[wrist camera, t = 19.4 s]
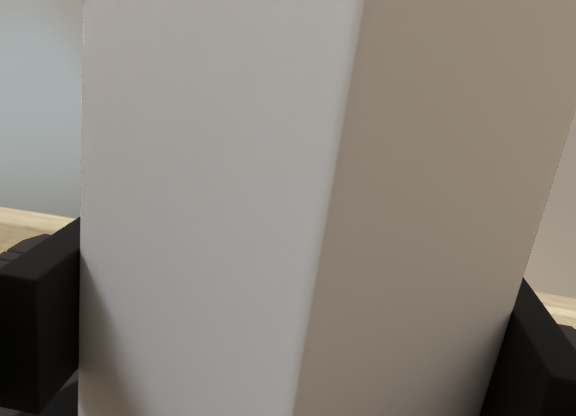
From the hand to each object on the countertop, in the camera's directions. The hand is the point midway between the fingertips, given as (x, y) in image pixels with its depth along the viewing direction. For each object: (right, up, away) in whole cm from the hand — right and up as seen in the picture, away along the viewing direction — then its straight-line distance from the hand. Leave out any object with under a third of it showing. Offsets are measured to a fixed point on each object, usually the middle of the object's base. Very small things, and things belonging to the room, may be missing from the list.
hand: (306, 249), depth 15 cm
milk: (-2, -13, -1) cm, 13 cm away
